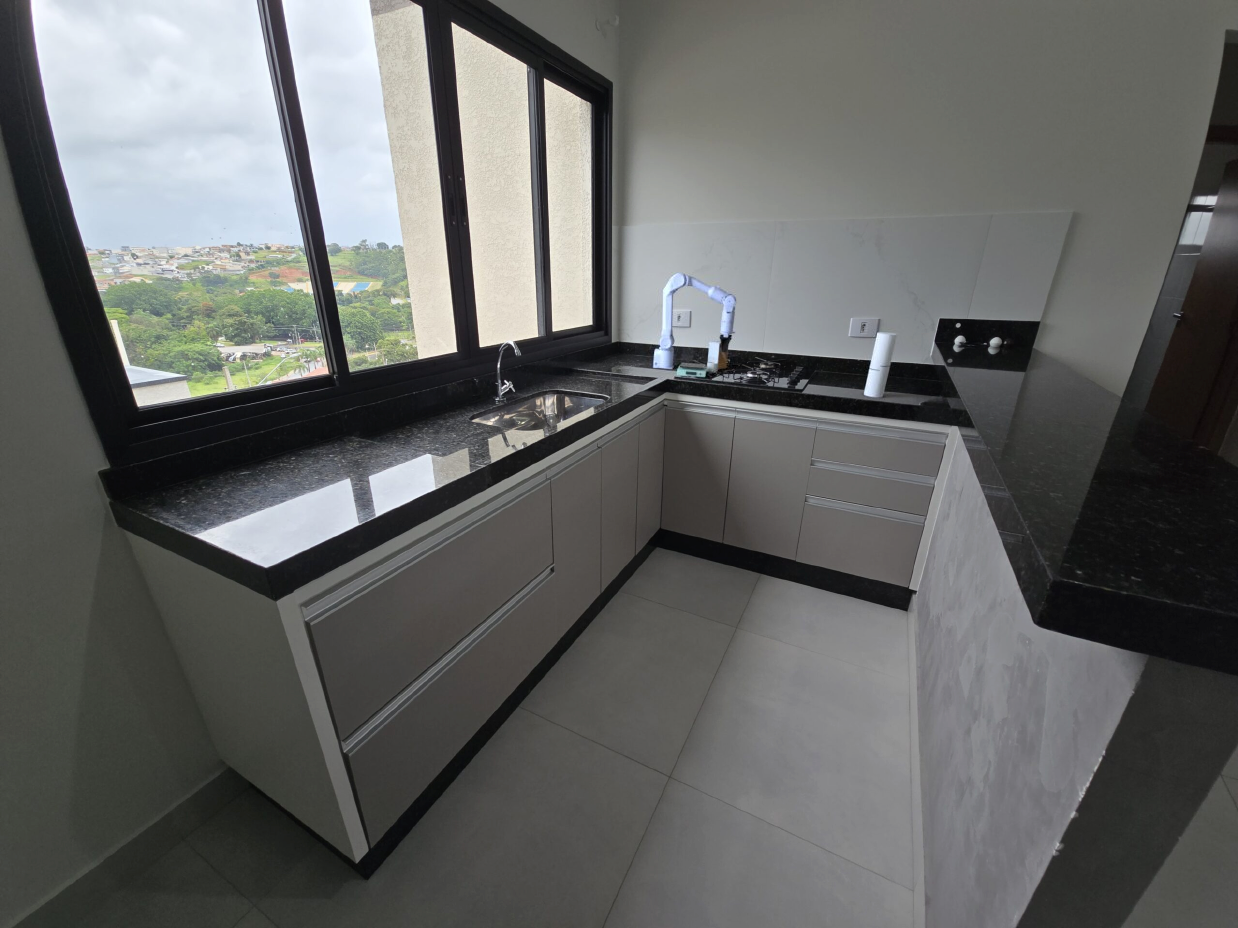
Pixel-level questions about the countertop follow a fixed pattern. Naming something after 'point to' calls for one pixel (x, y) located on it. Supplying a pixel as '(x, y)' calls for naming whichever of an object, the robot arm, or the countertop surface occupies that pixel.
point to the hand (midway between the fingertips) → (724, 351)
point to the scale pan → (692, 365)
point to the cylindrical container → (880, 364)
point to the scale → (692, 372)
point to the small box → (717, 354)
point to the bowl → (712, 367)
